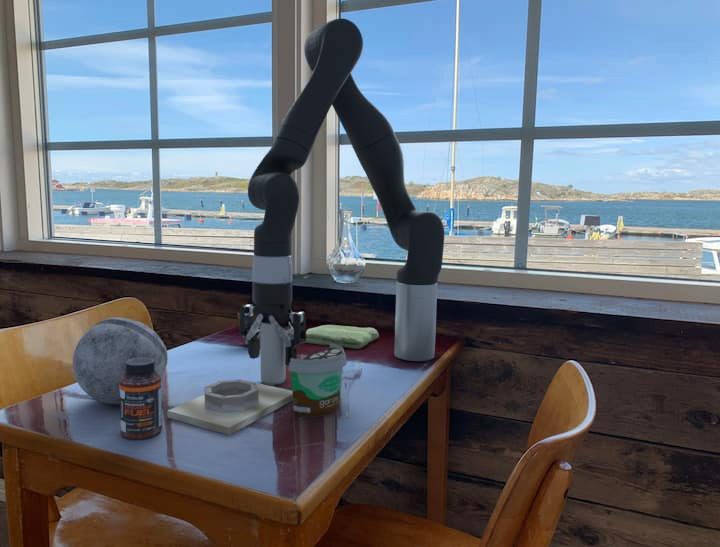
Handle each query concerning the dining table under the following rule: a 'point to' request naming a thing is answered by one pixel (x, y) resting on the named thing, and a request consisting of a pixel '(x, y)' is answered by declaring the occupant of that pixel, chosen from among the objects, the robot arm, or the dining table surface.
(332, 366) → the food container
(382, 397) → the dining table surface
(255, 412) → the holder board
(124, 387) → the supplement bottle
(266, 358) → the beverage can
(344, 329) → the washcloth
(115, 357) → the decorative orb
